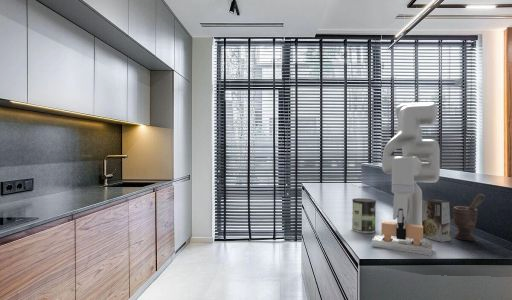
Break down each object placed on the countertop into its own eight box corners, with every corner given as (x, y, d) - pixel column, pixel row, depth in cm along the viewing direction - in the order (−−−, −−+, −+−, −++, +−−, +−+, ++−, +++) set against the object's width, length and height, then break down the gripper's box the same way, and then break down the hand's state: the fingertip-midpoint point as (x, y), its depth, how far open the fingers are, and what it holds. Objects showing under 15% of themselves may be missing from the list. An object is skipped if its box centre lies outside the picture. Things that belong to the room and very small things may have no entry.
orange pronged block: (381, 241, 122) (381, 222, 122) (382, 238, 126) (383, 221, 126) (422, 247, 115) (422, 227, 115) (422, 244, 119) (423, 225, 119)
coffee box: (451, 240, 132) (452, 201, 133) (441, 242, 130) (442, 202, 130) (430, 235, 141) (431, 198, 141) (421, 236, 138) (421, 199, 138)
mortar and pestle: (487, 240, 133) (488, 192, 133) (483, 244, 127) (484, 194, 127) (455, 235, 141) (456, 190, 141) (450, 238, 135) (451, 191, 135)
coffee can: (377, 229, 149) (378, 199, 149) (372, 234, 140) (373, 202, 140) (355, 226, 154) (355, 197, 154) (349, 231, 145) (349, 200, 145)
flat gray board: (371, 246, 122) (371, 239, 122) (375, 241, 129) (375, 235, 129) (431, 255, 112) (431, 248, 112) (432, 249, 119) (432, 243, 119)
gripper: (394, 186, 130) (393, 231, 130) (388, 190, 115) (387, 241, 115) (415, 188, 126) (414, 234, 126) (411, 192, 112) (410, 244, 112)
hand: (401, 237), depth 121 cm, fingers closed on orange pronged block, 4 cm apart
